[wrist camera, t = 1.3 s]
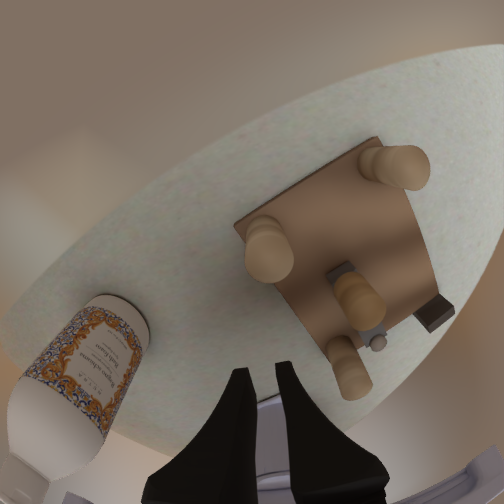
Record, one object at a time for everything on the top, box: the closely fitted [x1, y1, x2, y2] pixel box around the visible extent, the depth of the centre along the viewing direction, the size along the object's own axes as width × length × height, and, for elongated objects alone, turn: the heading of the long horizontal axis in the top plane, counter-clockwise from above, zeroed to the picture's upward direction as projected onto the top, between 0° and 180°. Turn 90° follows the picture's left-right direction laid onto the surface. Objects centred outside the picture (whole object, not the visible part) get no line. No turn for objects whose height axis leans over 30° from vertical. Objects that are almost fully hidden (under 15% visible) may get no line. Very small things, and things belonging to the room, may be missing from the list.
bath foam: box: [0, 295, 149, 504], centre depth 13 cm, size 7×7×20 cm
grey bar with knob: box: [326, 261, 387, 352], centre depth 17 cm, size 8×2×5 cm, turn 34°
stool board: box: [234, 136, 455, 401], centre depth 17 cm, size 16×12×6 cm
